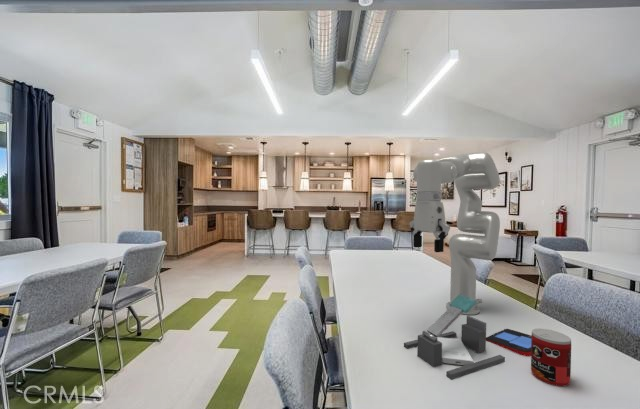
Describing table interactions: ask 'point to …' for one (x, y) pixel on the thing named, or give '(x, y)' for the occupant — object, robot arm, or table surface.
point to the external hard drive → (454, 352)
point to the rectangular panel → (449, 316)
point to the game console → (512, 341)
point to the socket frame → (471, 339)
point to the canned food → (551, 356)
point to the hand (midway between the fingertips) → (427, 249)
